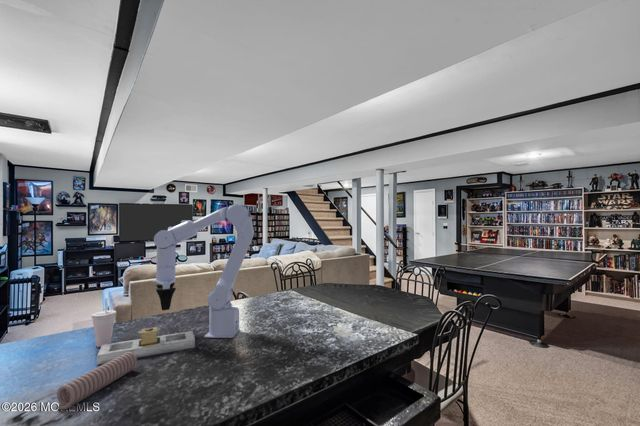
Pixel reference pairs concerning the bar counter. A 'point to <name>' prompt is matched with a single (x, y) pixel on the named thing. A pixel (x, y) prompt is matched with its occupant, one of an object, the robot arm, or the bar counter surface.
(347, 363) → the bar counter surface
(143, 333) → the drilled wooden block
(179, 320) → the bar counter surface
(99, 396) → the bar counter surface
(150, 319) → the bar counter surface
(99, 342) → the smoothie
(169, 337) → the rail
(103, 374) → the coil
